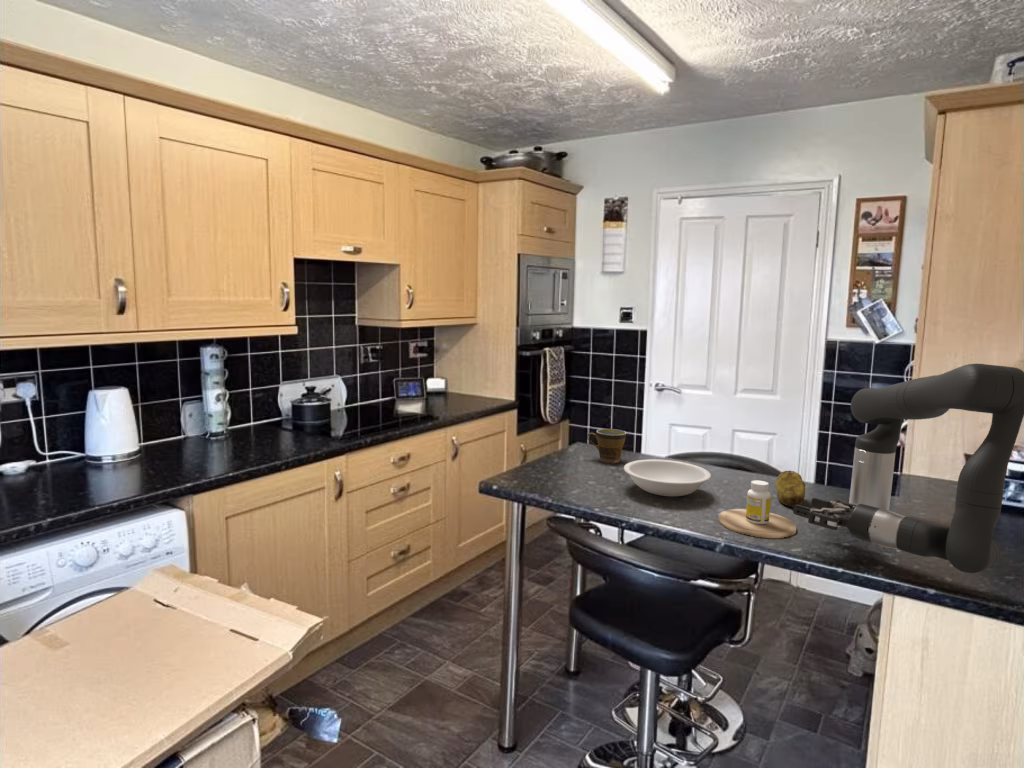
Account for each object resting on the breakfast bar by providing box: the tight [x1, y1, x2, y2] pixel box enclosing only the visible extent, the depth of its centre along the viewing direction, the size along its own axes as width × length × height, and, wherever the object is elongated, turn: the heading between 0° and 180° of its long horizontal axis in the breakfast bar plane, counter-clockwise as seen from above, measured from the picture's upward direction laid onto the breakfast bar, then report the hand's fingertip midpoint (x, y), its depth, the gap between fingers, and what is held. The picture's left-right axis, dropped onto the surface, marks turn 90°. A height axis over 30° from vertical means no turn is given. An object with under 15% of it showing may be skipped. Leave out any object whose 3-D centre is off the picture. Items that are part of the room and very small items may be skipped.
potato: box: [775, 470, 806, 508], centre depth 170 cm, size 8×13×8 cm, turn 148°
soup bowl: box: [623, 458, 712, 497], centre depth 176 cm, size 24×24×7 cm
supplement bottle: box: [745, 479, 772, 524], centre depth 152 cm, size 5×5×10 cm
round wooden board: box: [717, 508, 797, 539], centre depth 153 cm, size 18×18×1 cm
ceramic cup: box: [586, 428, 627, 464], centre depth 209 cm, size 13×10×10 cm
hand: (803, 505), depth 143 cm, fingers open, 8 cm apart
